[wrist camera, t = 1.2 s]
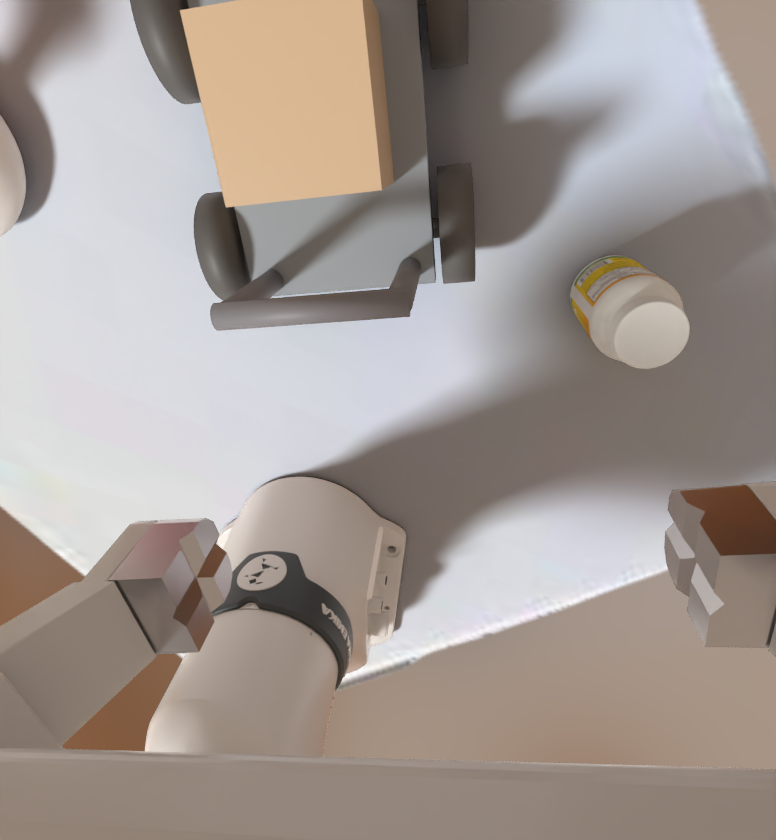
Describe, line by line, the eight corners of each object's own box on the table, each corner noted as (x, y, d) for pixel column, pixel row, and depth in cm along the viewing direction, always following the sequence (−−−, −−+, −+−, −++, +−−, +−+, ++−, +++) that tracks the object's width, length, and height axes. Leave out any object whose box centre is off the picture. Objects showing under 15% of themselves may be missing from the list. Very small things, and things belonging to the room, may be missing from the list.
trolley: (472, 268, 37) (482, 331, 25) (249, 287, 40) (156, 353, 27) (461, -79, 29) (468, -253, 16) (177, -27, 31) (-7, -143, 19)
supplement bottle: (580, 249, 36) (618, 281, 28) (657, 259, 36) (721, 293, 27) (560, 323, 39) (589, 373, 30) (632, 333, 38) (683, 386, 30)
